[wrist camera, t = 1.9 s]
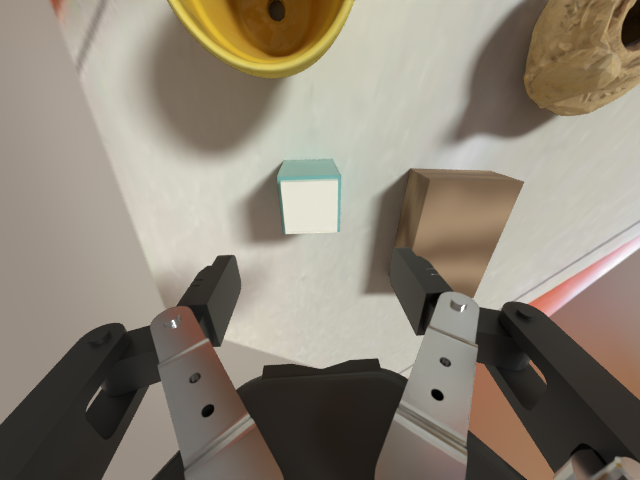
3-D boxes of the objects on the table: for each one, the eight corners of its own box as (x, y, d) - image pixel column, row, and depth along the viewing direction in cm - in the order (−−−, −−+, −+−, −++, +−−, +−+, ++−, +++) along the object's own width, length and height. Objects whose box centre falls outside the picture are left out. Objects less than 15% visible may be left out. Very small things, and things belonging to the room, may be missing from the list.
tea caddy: (283, 160, 25) (276, 178, 18) (332, 158, 25) (341, 176, 18) (288, 206, 27) (282, 237, 21) (332, 204, 27) (340, 234, 21)
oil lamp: (703, -31, 20) (925, -110, 13) (542, 140, 25) (633, 151, 18) (639, -153, 16) (887, -349, 9) (471, 73, 22) (549, 57, 15)
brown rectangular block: (409, 167, 26) (430, 179, 22) (488, 170, 27) (524, 181, 22) (387, 273, 33) (400, 298, 28) (451, 273, 33) (473, 297, 29)
